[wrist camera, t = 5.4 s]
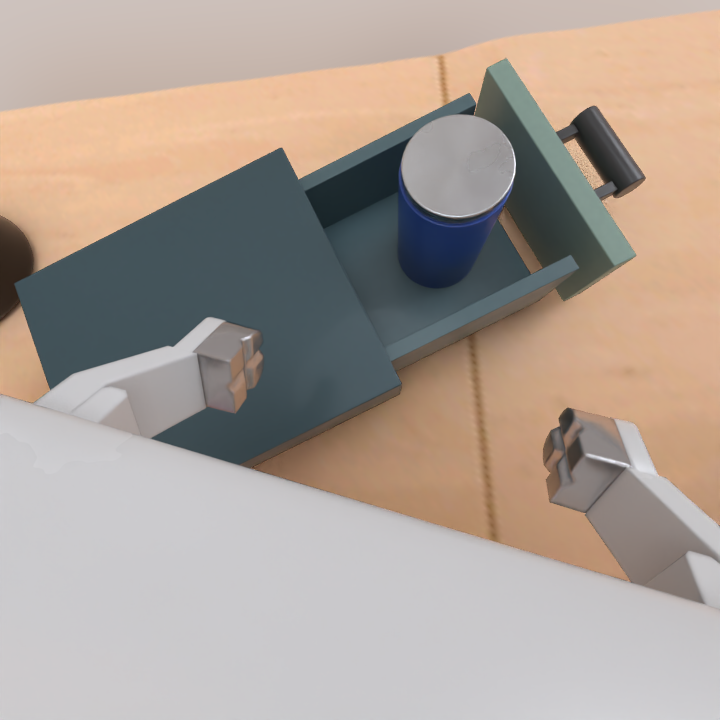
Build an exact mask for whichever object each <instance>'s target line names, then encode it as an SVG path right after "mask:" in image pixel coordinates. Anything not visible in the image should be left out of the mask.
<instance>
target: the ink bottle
mask: <svg viewBox="0 0 720 720" xmlns="http://www.w3.org/2000/svg"><path fill="white" fill-rule="evenodd" d="M32 270H33V254H32V250H31V247H30V244H29V242H28V240H27V238H26V237H25V235H24V234H23V232H22V231H21V230H20V229H19V228H18V227H17V226H16V225H15V224H14V223H12V222H11V221H9V220H8V219H6V218H4V217H3V216H1V215H0V319H1V318H2V317H3V316H5V315H6V314H7V313H8V312H9V311H10V310H11V309H12V308H13V307H14V306H15V305H16V304H17V302H18V301H19V300H20V299H19V297H18V294H17V291H16V288H15V285H14V284H15V283H16V282H18V281H20V280H22V279H24V278H26V277H28V276H30V275H32Z"/></svg>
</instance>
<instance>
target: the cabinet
mask: <svg viewBox="0 0 720 720" xmlns="http://www.w3.org/2000/svg"><path fill="white" fill-rule="evenodd" d="M14 285H15V288H16V291H17V294H18V297H19V299H20V302H21V305H22V308H23V311H24V314H25V317H26V320H27V323H28V326H29V329H30V332H31V335H32V338H33V341H34V344H35V347H36V350H37V353H38V356H39V358H40V361H41V364H42V367H43V370H44V373H45V376H46V379H47V382H48V385H49V388H50V390H51V389H53V388H54V387H55V386H57V385H58V384H60V383H61V382H62V381H64V380H65V379H66V378H68V377H69V376H70V375H72V374H74V373H77V372H80V371H84V370H87V369H91V368H94V367H97V366H101V365H104V364H108V363H111V362H115V361H118V360H121V359H125V358H128V357H132V356H135V355H138V354H142V353H145V352H149V351H152V350H155V349H159V348H162V347H166V346H171V347H174V346H175V345H176V344H177V343H178V342H179V341H181V340H182V339H183V338H184V337H185V336H186V335H187V334H188V333H190V332H191V331H192V330H193V329H194V328H195V327H196V326H197V325H199V324H200V323H201V322H202V321H203V320H204V319H205V318H208V317H214V318H217V319H221V320H225V321H229V322H233V323H237V324H240V325H244V326H247V327H251V328H255V329H258V330H260V331H261V332H262V333H263V344H262V346H261V347H260V348H259V349H260V351H261V352H262V354H263V355H264V368H263V372H262V375H261V378H260V380H259V382H258V383H257V384H256V386H255V387H254V388H251V389H249V390H247V398H246V400H245V401H244V403H243V404H242V405H241V407H240V408H239V409H238V411H237V412H236V414H235V413H231V412H227V411H223V410H219V409H215V408H211V407H207V406H206V408H205V409H203V410H201V411H200V412H198V413H196V414H194V415H192V416H190V417H188V418H187V419H185V420H183V421H181V422H179V423H177V424H176V425H174V426H172V427H170V428H168V429H166V430H165V431H163V432H161V433H159V434H157V435H155V436H153V437H152V438H150V439H153V440H157V441H160V442H163V443H167V444H170V445H173V446H177V447H180V448H183V449H187V450H190V451H193V452H197V453H200V454H203V455H207V456H210V457H213V458H217V459H220V460H223V461H227V462H230V463H234V464H237V465H240V466H244V467H247V468H251V467H253V466H255V465H257V464H259V463H261V462H263V461H265V460H267V459H269V458H271V457H274V456H276V455H278V454H280V453H282V452H284V451H286V450H288V449H290V448H292V447H294V446H296V445H298V444H300V443H302V442H304V441H306V440H308V439H310V438H312V437H314V436H316V435H318V434H320V433H322V432H324V431H326V430H328V429H330V428H332V427H334V426H336V425H338V424H340V423H342V422H344V421H346V420H348V419H350V418H353V417H355V416H357V415H359V414H361V413H363V412H365V411H367V410H369V409H371V408H373V407H375V406H377V405H379V404H381V403H383V402H385V401H387V400H389V399H391V398H393V397H395V396H397V395H399V394H400V391H401V385H402V383H401V381H400V379H399V377H398V375H397V373H396V371H395V369H394V367H393V365H392V363H391V361H390V359H389V357H388V355H387V353H386V351H385V349H384V347H383V345H382V343H381V341H380V339H379V337H378V336H377V334H376V332H375V330H374V328H373V326H372V324H371V322H370V320H369V318H368V316H367V314H366V312H365V310H364V308H363V306H362V304H361V302H360V300H359V298H358V296H357V294H356V292H355V290H354V288H353V286H352V284H351V282H350V280H349V278H348V276H347V274H346V272H345V270H344V268H343V266H342V265H341V263H340V261H339V259H338V257H337V255H336V253H335V251H334V249H333V247H332V245H331V243H330V241H329V239H328V237H327V235H326V233H325V231H324V229H323V227H322V225H321V223H320V221H319V219H318V217H317V215H316V213H315V211H314V209H313V207H312V205H311V203H310V201H309V199H308V197H307V196H306V194H305V192H304V190H303V188H302V186H301V184H300V182H299V180H298V178H297V176H296V174H295V172H294V170H293V168H292V166H291V164H290V162H289V160H288V158H287V156H286V154H285V152H284V150H283V148H279V149H277V150H275V151H273V152H271V153H269V154H267V155H265V156H263V157H261V158H259V159H257V160H255V161H253V162H251V163H250V164H248V165H246V166H244V167H242V168H240V169H238V170H236V171H234V172H232V173H230V174H228V175H226V176H224V177H222V178H220V179H218V180H216V181H214V182H212V183H210V184H208V185H206V186H204V187H202V188H200V189H199V190H197V191H195V192H193V193H191V194H189V195H187V196H185V197H183V198H181V199H179V200H177V201H175V202H173V203H171V204H169V205H167V206H165V207H163V208H161V209H159V210H157V211H155V212H153V213H151V214H149V215H148V216H146V217H144V218H142V219H140V220H138V221H136V222H134V223H132V224H130V225H128V226H126V227H124V228H122V229H120V230H118V231H116V232H114V233H112V234H110V235H108V236H106V237H104V238H102V239H100V240H98V241H96V242H95V243H93V244H91V245H89V246H87V247H85V248H83V249H81V250H79V251H77V252H75V253H73V254H71V255H69V256H67V257H65V258H63V259H61V260H59V261H57V262H55V263H53V264H51V265H49V266H47V267H45V268H44V269H42V270H40V271H38V272H36V273H34V274H32V275H30V276H28V277H26V278H24V279H22V280H20V281H18V282H16V283H15V284H14Z"/></svg>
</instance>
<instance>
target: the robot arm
mask: <svg viewBox="0 0 720 720" xmlns="http://www.w3.org/2000/svg"><path fill="white" fill-rule="evenodd" d="M262 344H263V333H262V332H261V331H260V330H258V329H255V328H251V327H247V326H244V325H240V324H237V323H233V322H229V321H225V320H221V319H217V318H214V317H208V318H205V319H204V320H203V321H202V322H201V323H200V324H199V325H197V326H196V327H195V328H194V329H193V330H192V331H191V332H190V333H188V334H187V335H186V336H185V337H184V338H183V339H182V340H181V341H179V342H178V343H177V344H176V345H175V346H174V347H171V346H166V347H162V348H159V349H155V350H152V351H149V352H145V353H142V354H138V355H135V356H132V357H128V358H125V359H121V360H118V361H115V362H111V363H108V364H104V365H101V366H97V367H94V368H91V369H87V370H84V371H80V372H77V373H74V374H72V375H70V376H69V377H68V378H66V379H65V380H64V381H62V382H61V383H60V384H58V385H57V386H55V387H54V388H53V389H51V390H50V391H49V392H47V393H46V394H45V395H43V396H42V397H41V398H39V399H38V400H37V401H35V402H34V403H29V402H26V401H23V400H19V399H16V398H13V397H9V396H6V395H3V394H0V720H720V526H719V525H718V524H716V523H715V522H714V521H713V520H712V519H711V518H710V517H709V516H708V515H706V514H705V513H704V512H703V511H702V510H701V509H700V508H699V507H698V506H696V505H695V504H694V503H693V502H692V501H691V500H690V499H689V498H688V497H686V496H685V495H684V494H683V493H682V492H681V491H680V490H679V489H678V488H677V487H675V486H674V485H673V484H672V483H671V482H670V481H669V480H668V479H667V478H665V477H662V476H658V474H657V471H656V469H655V467H654V464H653V462H652V460H651V458H650V455H649V453H648V451H647V448H646V446H645V444H644V442H643V439H642V437H641V435H640V432H639V430H638V428H637V426H636V425H635V424H634V423H633V422H629V421H624V420H620V419H616V418H611V417H610V418H608V417H604V416H600V415H596V414H592V413H588V412H584V411H580V410H576V409H572V408H566V409H565V410H564V411H563V412H562V414H561V415H560V417H559V423H560V427H557V428H555V429H553V430H551V431H550V433H549V435H548V436H547V438H546V441H545V444H544V448H543V463H544V466H545V467H546V468H547V470H548V471H549V472H550V475H549V476H548V477H547V479H546V483H547V489H548V495H549V501H550V502H551V503H554V504H557V505H560V506H564V507H567V508H570V509H573V510H577V511H580V512H583V513H586V514H585V516H586V517H587V519H588V520H589V521H590V523H591V524H592V526H593V527H594V529H595V530H596V532H597V533H598V534H599V536H600V537H601V539H602V540H603V542H604V543H605V545H606V546H607V547H608V549H609V550H610V552H611V553H612V555H613V556H614V558H615V559H616V560H617V562H618V563H619V565H620V566H621V568H622V569H623V571H624V572H625V573H626V575H627V576H628V578H629V579H630V581H631V582H628V581H625V580H622V579H618V578H615V577H611V576H608V575H605V574H601V573H598V572H595V571H591V570H588V569H585V568H581V567H578V566H575V565H571V564H568V563H565V562H561V561H558V560H555V559H551V558H548V557H545V556H541V555H538V554H535V553H531V552H528V551H525V550H521V549H518V548H514V547H511V546H508V545H504V544H501V543H498V542H494V541H491V540H488V539H484V538H481V537H478V536H474V535H471V534H468V533H464V532H461V531H458V530H454V529H451V528H448V527H444V526H441V525H438V524H434V523H431V522H428V521H424V520H421V519H418V518H414V517H411V516H408V515H404V514H401V513H398V512H394V511H391V510H387V509H384V508H381V507H377V506H374V505H371V504H367V503H364V502H361V501H357V500H354V499H351V498H347V497H344V496H341V495H337V494H334V493H331V492H327V491H324V490H321V489H317V488H314V487H310V486H307V485H304V484H300V483H297V482H294V481H290V480H287V479H284V478H280V477H277V476H274V475H270V474H267V473H264V472H260V471H257V470H254V469H250V468H247V467H244V466H240V465H237V464H234V463H230V462H227V461H223V460H220V459H217V458H213V457H210V456H207V455H203V454H200V453H197V452H193V451H190V450H187V449H183V448H180V447H177V446H173V445H170V444H167V443H163V442H160V441H157V440H153V439H150V438H152V437H153V436H155V435H157V434H159V433H161V432H163V431H165V430H166V429H168V428H170V427H172V426H174V425H176V424H177V423H179V422H181V421H183V420H185V419H187V418H188V417H190V416H192V415H194V414H196V413H198V412H200V411H201V410H203V409H205V408H206V406H207V407H211V408H215V409H219V410H223V411H227V412H231V413H235V414H236V412H237V411H238V409H239V408H240V407H241V405H242V404H243V403H244V401H245V400H246V398H247V390H249V389H251V388H254V387H255V386H256V384H257V383H258V382H259V380H260V378H261V375H262V372H263V368H264V355H263V354H262V352H261V351H260V349H259V348H260V347H261V346H262Z"/></svg>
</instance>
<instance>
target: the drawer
mask: <svg viewBox="0 0 720 720" xmlns="http://www.w3.org/2000/svg"><path fill="white" fill-rule="evenodd" d="M475 108H476V111H475ZM474 112H475V115H474ZM457 114H464V115H472V116H476V117H480V118H483V119H485V120H487V121H489V122H491V123H492V124H494V125H495V126H497V127H498V128H499V129H500V130H501V131H502V132H503V133H504V134H505V135H506V137H507V138H508V139H509V141H510V143H511V145H512V148H513V150H514V154H515V159H516V171H515V177H514V182H513V187H512V190H511V192H510V195H509V197H508V199H507V201H506V203H505V206H506V208H507V210H508V211H509V213H510V215H511V216H512V218H513V220H514V221H515V223H516V224H517V226H518V228H519V229H520V231H521V233H522V234H523V236H524V238H525V239H526V241H527V243H528V244H529V246H530V247H531V249H532V251H533V252H534V254H535V256H536V257H537V259H538V261H539V262H540V264H541V266H542V267H543V269H541V270H539V271H537V272H535V273H533V274H530V272H529V270H528V269H527V267H526V265H525V264H524V262H523V260H522V259H521V257H520V255H519V254H518V252H517V250H516V249H515V247H514V245H513V244H512V242H511V240H510V239H509V237H508V235H507V234H506V232H505V230H504V229H503V227H502V225H501V224H500V222H499V220H498V219H497V220H496V222H495V224H494V226H493V228H492V230H491V232H490V234H489V236H488V238H487V240H486V242H485V244H484V246H483V248H482V249H481V251H480V253H479V255H478V257H477V259H476V261H475V263H474V265H473V267H472V269H471V270H470V272H469V273H468V274H467V275H466V276H465V277H464V278H463V279H462V280H461V281H460V282H458V283H456V284H454V285H452V286H449V287H445V288H428V287H424V286H421V285H419V284H417V283H415V282H414V281H412V280H411V279H410V278H409V277H408V276H407V275H406V274H405V273H404V271H403V269H402V268H401V265H400V263H399V259H398V185H399V167H400V164H401V160H402V157H403V153H404V151H405V148H406V146H407V144H408V143H409V141H410V139H411V138H412V137H413V136H414V134H415V133H416V132H417V131H418V130H419V129H421V128H422V127H423V126H425V125H426V124H428V123H429V122H431V121H433V120H435V119H438V118H441V117H444V116H448V115H457ZM574 138H575V140H576V141H577V143H578V144H579V146H580V147H581V149H582V150H583V152H584V153H585V155H586V156H587V158H588V159H589V161H590V162H591V164H592V165H593V167H594V168H595V170H596V171H597V173H598V174H599V176H600V177H601V179H602V180H603V182H604V183H605V185H603V186H601V187H599V188H597V189H595V190H593V188H592V187H591V185H590V184H589V182H588V181H587V179H586V178H585V176H584V175H583V173H582V172H581V170H580V169H579V167H578V166H577V164H576V163H575V161H574V160H573V158H572V157H571V155H570V153H569V152H568V150H567V149H566V147H565V146H564V143H566V142H568V141H570V140H572V139H574ZM645 179H646V177H645V176H644V174H643V173H642V171H641V170H640V168H639V167H638V165H637V164H636V163H635V161H634V160H633V158H632V157H631V155H630V154H629V152H628V151H627V150H626V148H625V147H624V145H623V144H622V142H621V141H620V139H619V138H618V136H617V135H616V134H615V132H614V131H613V129H612V128H611V126H610V125H609V123H608V122H607V121H606V119H605V118H604V116H603V115H602V113H601V112H600V110H599V109H598V108H597V107H596V106H591V107H589V108H587V109H586V110H584V111H583V112H581V113H580V114H579V115H578V116H577V117H576V118H575V119H574V120H573V121H572V122H571V124H570V125H569V126H568V127H566V128H564V129H562V130H560V131H558V132H555V131H554V129H553V128H552V126H551V125H550V123H549V122H548V120H547V119H546V117H545V116H544V114H543V113H542V111H541V109H540V108H539V106H538V105H537V103H536V102H535V100H534V99H533V97H532V96H531V94H530V93H529V91H528V90H527V88H526V87H525V85H524V84H523V82H522V81H521V79H520V78H519V76H518V75H517V73H516V72H515V70H514V69H513V67H512V65H511V64H510V62H509V61H508V59H507V58H505V59H504V60H502V61H500V62H498V63H496V64H494V65H492V66H490V67H488V68H487V69H486V73H485V77H484V81H483V84H482V88H481V92H480V96H479V100H478V103H477V107H476V102H475V101H474V99H473V98H472V96H471V94H470V93H468V94H466V95H464V96H462V97H460V98H458V99H456V100H454V101H452V102H450V103H449V104H447V105H445V106H443V107H441V108H439V109H437V110H435V111H433V112H431V113H429V114H427V115H425V116H423V117H421V118H419V119H417V120H415V121H413V122H411V123H409V124H407V125H405V126H403V127H401V128H399V129H397V130H395V131H393V132H391V133H389V134H387V135H385V136H383V137H382V138H380V139H378V140H376V141H374V142H372V143H370V144H368V145H366V146H364V147H362V148H360V149H358V150H356V151H354V152H352V153H350V154H348V155H346V156H344V157H342V158H340V159H338V160H336V161H334V162H332V163H330V164H328V165H326V166H324V167H322V168H320V169H318V170H317V171H315V172H313V173H311V174H309V175H307V176H305V177H303V178H301V179H299V182H300V184H301V186H302V188H303V190H304V192H305V194H306V196H307V197H308V199H309V201H310V203H311V205H312V207H313V209H314V211H315V213H316V215H317V217H318V219H319V221H320V223H321V225H322V227H323V229H324V231H325V233H326V235H327V237H328V239H329V241H330V243H331V245H332V247H333V249H334V251H335V253H336V255H337V257H338V259H339V261H340V263H341V265H342V266H343V268H344V270H345V272H346V274H347V276H348V278H349V280H350V282H351V284H352V286H353V288H354V290H355V292H356V294H357V296H358V298H359V300H360V302H361V304H362V306H363V308H364V310H365V312H366V314H367V316H368V318H369V320H370V322H371V324H372V326H373V328H374V330H375V332H376V334H377V336H378V337H379V339H380V341H381V343H382V345H383V347H384V349H385V351H386V353H387V355H388V357H389V359H390V361H391V363H392V365H393V367H394V369H395V371H398V370H400V369H402V368H404V367H406V366H408V365H410V364H412V363H414V362H416V361H418V360H420V359H422V358H424V357H426V356H428V355H430V354H432V353H434V352H436V351H438V350H440V349H442V348H444V347H446V346H448V345H450V344H452V343H454V342H456V341H458V340H460V339H462V338H464V337H467V336H469V335H471V334H473V333H475V332H477V331H479V330H481V329H483V328H485V327H487V326H489V325H491V324H493V323H495V322H497V321H499V320H501V319H503V318H505V317H507V316H509V315H511V314H513V313H515V312H517V311H519V310H521V309H523V308H525V307H527V306H529V305H531V304H533V303H535V302H537V301H539V300H540V299H542V298H543V297H544V296H546V295H547V294H548V293H549V292H551V291H552V290H553V289H554V288H555V289H556V290H557V292H558V294H559V295H560V297H561V299H562V300H563V301H566V300H568V299H570V298H572V297H574V296H576V295H578V294H580V293H581V292H583V291H584V290H586V289H588V288H589V287H591V286H592V285H594V284H595V283H597V282H598V281H600V280H601V279H603V278H604V277H606V276H607V275H609V274H610V273H612V272H613V271H615V270H616V269H618V268H619V267H621V266H622V265H624V264H625V263H627V262H628V261H630V260H631V259H633V258H634V257H635V256H636V254H635V252H634V251H633V249H632V248H631V246H630V245H629V243H628V241H627V240H626V238H625V237H624V235H623V234H622V232H621V231H620V229H619V228H618V226H617V225H616V223H615V222H614V220H613V219H612V217H611V216H610V214H609V213H608V211H607V210H606V208H605V207H604V205H603V204H602V202H601V201H602V200H604V199H606V198H608V197H610V196H612V195H613V197H614V198H619V197H622V196H624V195H626V194H627V193H629V192H631V191H632V190H634V189H635V188H636V187H638V186H639V185H640V184H641V183H642V182H643V181H644V180H645Z"/></svg>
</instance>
